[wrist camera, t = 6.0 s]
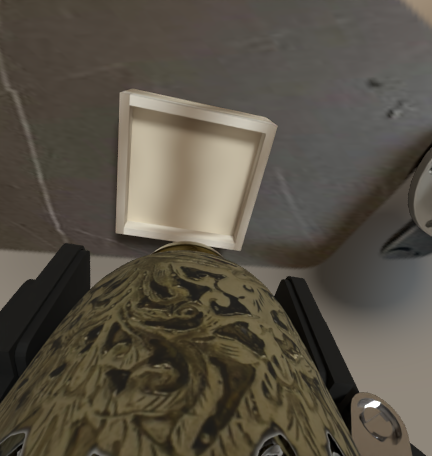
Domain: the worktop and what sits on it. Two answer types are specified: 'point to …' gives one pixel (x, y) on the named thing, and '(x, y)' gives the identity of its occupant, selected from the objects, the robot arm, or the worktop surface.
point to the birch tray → (188, 169)
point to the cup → (174, 370)
